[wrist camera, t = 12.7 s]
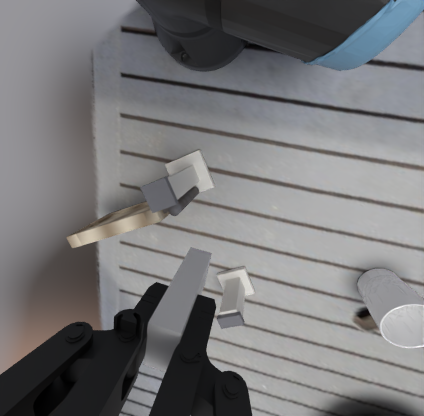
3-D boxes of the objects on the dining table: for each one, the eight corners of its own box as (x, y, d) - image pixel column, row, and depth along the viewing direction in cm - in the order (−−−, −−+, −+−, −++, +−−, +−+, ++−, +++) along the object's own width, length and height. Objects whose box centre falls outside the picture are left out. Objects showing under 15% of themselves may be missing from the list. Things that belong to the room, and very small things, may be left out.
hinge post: (166, 163, 42) (122, 179, 29) (200, 149, 40) (170, 158, 27) (182, 198, 44) (147, 228, 30) (215, 186, 42) (194, 212, 28)
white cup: (349, 269, 42) (375, 308, 33) (398, 261, 40) (441, 300, 31) (357, 304, 44) (384, 350, 35) (404, 297, 42) (447, 345, 32)
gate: (196, 184, 41) (176, 201, 31) (200, 194, 41) (181, 215, 31) (108, 213, 46) (66, 237, 36) (113, 222, 47) (72, 248, 37)
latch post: (217, 272, 48) (206, 310, 38) (244, 266, 46) (241, 303, 36) (228, 296, 49) (220, 338, 39) (254, 290, 47) (254, 333, 37)
